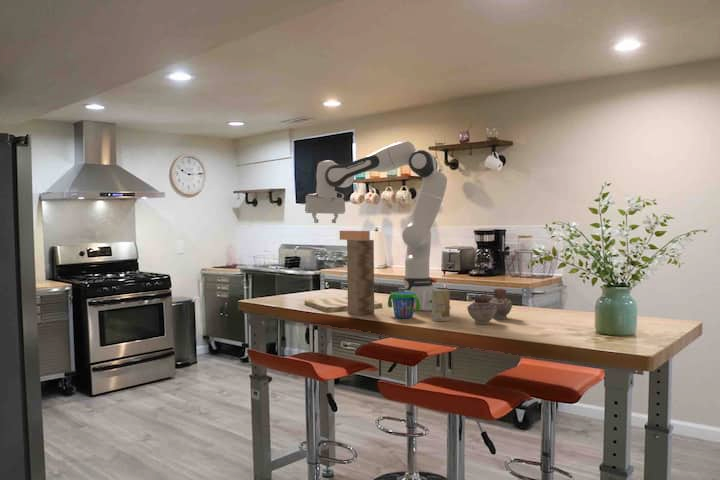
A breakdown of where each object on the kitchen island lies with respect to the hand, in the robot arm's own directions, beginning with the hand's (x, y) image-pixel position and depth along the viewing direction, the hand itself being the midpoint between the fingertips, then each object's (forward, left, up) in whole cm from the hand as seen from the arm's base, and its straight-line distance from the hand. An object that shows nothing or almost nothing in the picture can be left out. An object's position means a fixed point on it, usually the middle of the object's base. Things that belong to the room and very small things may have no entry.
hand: (325, 223), depth 269 cm
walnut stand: (-3, +32, -40) cm, 51 cm away
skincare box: (-23, +64, -40) cm, 79 cm away
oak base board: (-5, +8, -40) cm, 41 cm away
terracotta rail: (-1, +30, -8) cm, 31 cm away
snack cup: (-14, +50, -40) cm, 65 cm away
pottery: (-40, +74, -40) cm, 93 cm away
